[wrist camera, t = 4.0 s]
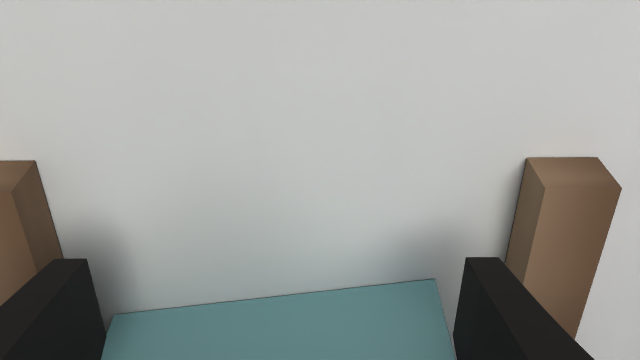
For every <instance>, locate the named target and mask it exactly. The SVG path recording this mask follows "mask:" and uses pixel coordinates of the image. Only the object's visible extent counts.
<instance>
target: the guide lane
mask: <svg viewBox="0 0 640 360" xmlns="http://www.w3.org/2000/svg"><path fill="white" fill-rule="evenodd" d="M621 189H622V188H621V186H620V185H619V184H618V183H617V181H616V180H615V179H614V178H613V176H612V175H611V174H610V172H609V171H608V170H607V169H606V167H605V166H604V165H603V164H602V162H601V161H600V160H599V159H598V157H586V158H527V161H526V165H525V170H524V175H523V180H522V185H521V190H520V194H519V199H518V204H517V209H516V214H515V218H514V223H513V228H512V233H511V238H510V242H509V247H508V252H507V257H506V262H505V265H506V266H507V267H508V269H509V270H510V271H511V272H512V273H513V274H514V275H515V276H516V278H517V279H518V280H519V281H520V282H521V283H522V284H523V285H524V287H525V288H526V289H527V290H528V291H529V292H530V293H531V294H532V295H533V297H534V298H535V299H536V300H537V301H538V302H539V303H540V304H541V305H542V306H543V308H544V309H545V310H546V311H547V312H548V313H549V314H550V315H551V316H552V317H553V318H554V319H555V320H556V321H557V322H558V324H559V325H560V326H561V327H562V328H563V329H564V330H565V331H566V332H567V333H568V334H569V335H570V336H571V337H572V338H573V339H574V340H575V336H576V333H577V330H578V327H579V324H580V320H581V317H582V314H583V311H584V308H585V304H586V301H587V298H588V295H589V292H590V288H591V285H592V282H593V279H594V276H595V272H596V269H597V266H598V263H599V260H600V257H601V253H602V250H603V247H604V244H605V241H606V237H607V234H608V231H609V228H610V225H611V221H612V218H613V215H614V212H615V209H616V205H617V202H618V199H619V196H620V193H621ZM53 259H63V256H62V252H61V249H60V246H59V242H58V239H57V235H56V232H55V228H54V225H53V221H52V218H51V214H50V211H49V208H48V204H47V201H46V197H45V194H44V190H43V187H42V183H41V180H40V177H39V173H38V170H37V166H36V163H35V161H0V306H1V305H2V304H3V303H4V302H6V301H7V300H8V299H9V298H10V297H11V296H12V295H13V294H15V293H16V292H17V291H18V290H19V289H20V288H21V287H22V286H23V285H25V284H26V283H27V282H28V281H29V280H30V279H31V278H32V277H34V276H35V275H36V274H37V273H38V272H39V271H40V270H42V269H43V268H44V267H45V266H46V265H47V264H49V263H50V262H51V261H52V260H53Z"/></svg>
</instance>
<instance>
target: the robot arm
mask: <svg viewBox="0 0 640 360" xmlns="http://www.w3.org/2000/svg"><path fill="white" fill-rule="evenodd" d="M106 337H107V336H106V332H105V329H104V325H103V321H102V317H101V313H100V309H99V305H98V301H97V297H96V294H95V290H94V286H93V282H92V278H91V274H90V270H89V266H88V262H87V259H53V260H52V261H51V262H50V263H49V264H47V265H46V266H45V267H44V268H43V269H42V270H40V271H39V272H38V273H37V274H36V275H35V276H34V277H32V278H31V279H30V280H29V281H28V282H27V283H26V284H25V285H23V286H22V287H21V288H20V289H19V290H18V291H17V292H16V293H15V294H13V295H12V296H11V297H10V298H9V299H8V300H7V301H6V302H4V303H3V304H2V305H1V306H0V360H101V357H102V353H103V349H104V345H105V341H106ZM453 338H454V344H455V350H456V356H457V360H594V359H593V358H592V357H591V356H590V355H589V354H588V353H587V352H586V351H585V350H584V349H583V348H582V347H581V346H580V345H579V344H578V343H577V342H576V341H575V340H574V339H573V338H572V337H571V336H570V335H569V334H568V333H567V332H566V331H565V330H564V329H563V328H562V327H561V326H560V325H559V324H558V322H557V321H556V320H555V319H554V318H553V317H552V316H551V315H550V314H549V313H548V312H547V311H546V310H545V309H544V308H543V306H542V305H541V304H540V303H539V302H538V301H537V300H536V299H535V298H534V297H533V295H532V294H531V293H530V292H529V291H528V290H527V289H526V288H525V287H524V285H523V284H522V283H521V282H520V281H519V280H518V279H517V278H516V276H515V275H514V274H513V273H512V272H511V271H510V270H509V269H508V267H507V266H506V265H505V264H504V263H503V262H502V261H501V260H500V259H499V258H498V257H466V260H465V266H464V272H463V278H462V284H461V290H460V296H459V302H458V308H457V314H456V320H455V325H454V331H453Z"/></svg>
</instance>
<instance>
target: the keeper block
mask: <svg viewBox="0 0 640 360" xmlns="http://www.w3.org/2000/svg"><path fill="white" fill-rule="evenodd" d="M106 336H107V337H106V341H105V345H104V349H103V353H102V357H101V360H455V356H454V352H453V348H452V344H451V340H450V336H449V332H448V328H447V324H446V321H445V317H444V313H443V309H442V305H441V301H440V297H439V293H438V289H437V285H436V281H435V279H430V280H421V281H412V282H403V283H394V284H385V285H376V286H367V287H358V288H349V289H340V290H331V291H322V292H313V293H305V294H296V295H287V296H278V297H269V298H260V299H251V300H242V301H233V302H224V303H215V304H206V305H197V306H188V307H179V308H170V309H161V310H152V311H143V312H134V313H125V314H116V315H114V316H113V319H112V322H111V324H110V327H109V329H108V332H107V335H106Z"/></svg>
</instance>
